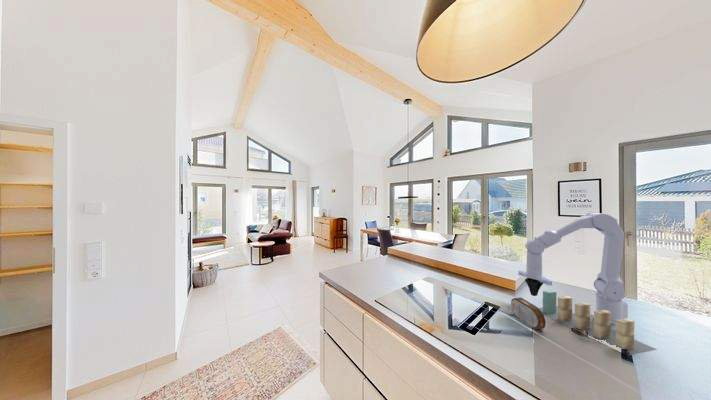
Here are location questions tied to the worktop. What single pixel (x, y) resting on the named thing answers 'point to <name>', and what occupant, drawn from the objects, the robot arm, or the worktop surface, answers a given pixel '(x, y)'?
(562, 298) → the domino
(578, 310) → the domino
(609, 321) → the domino
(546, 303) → the domino
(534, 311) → the tin
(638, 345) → the felt mat
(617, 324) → the domino
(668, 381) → the worktop surface
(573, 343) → the worktop surface
